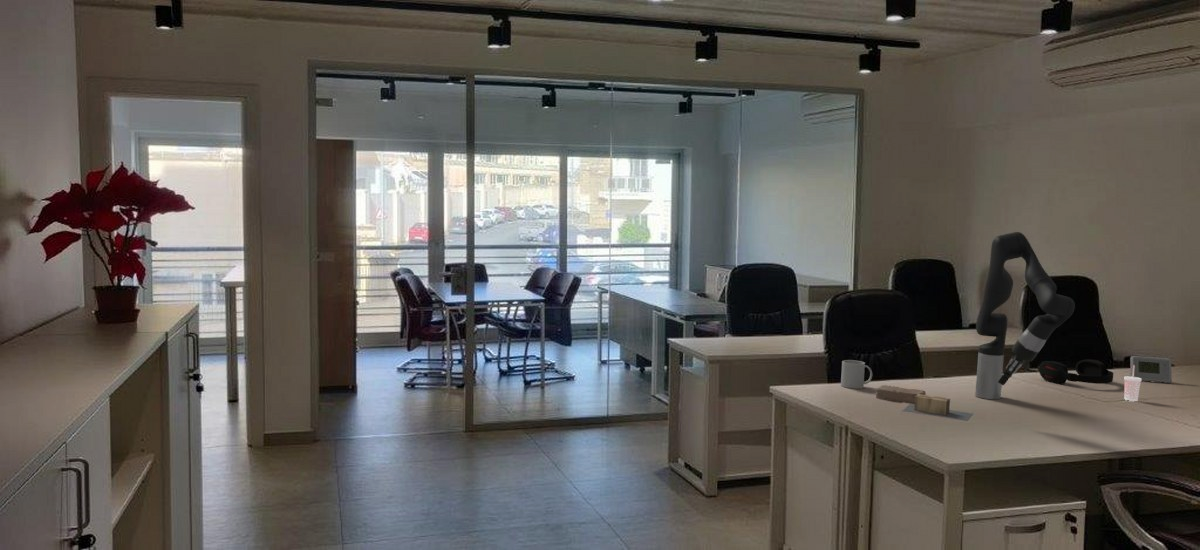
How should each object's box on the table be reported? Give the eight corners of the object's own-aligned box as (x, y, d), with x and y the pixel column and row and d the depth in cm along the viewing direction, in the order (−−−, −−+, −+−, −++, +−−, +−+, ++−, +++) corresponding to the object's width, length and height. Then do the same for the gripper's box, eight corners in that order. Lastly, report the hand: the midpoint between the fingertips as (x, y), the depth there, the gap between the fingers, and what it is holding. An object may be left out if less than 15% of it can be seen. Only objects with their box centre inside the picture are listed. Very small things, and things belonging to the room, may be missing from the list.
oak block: (949, 412, 317) (917, 407, 323) (950, 398, 317) (918, 394, 322) (946, 415, 313) (914, 410, 318) (947, 401, 312) (915, 396, 318)
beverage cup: (1128, 401, 347) (1131, 366, 346) (1118, 398, 353) (1121, 363, 352) (1143, 402, 347) (1146, 367, 346) (1133, 398, 353) (1136, 364, 352)
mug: (837, 386, 358) (838, 361, 357) (847, 382, 365) (848, 358, 364) (862, 390, 351) (863, 365, 350) (872, 387, 358) (874, 362, 357)
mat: (909, 405, 328) (909, 404, 328) (973, 414, 317) (973, 413, 317) (901, 411, 317) (901, 410, 317) (967, 421, 306) (967, 420, 306)
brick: (875, 398, 338) (875, 386, 338) (882, 395, 345) (883, 383, 345) (918, 406, 329) (919, 393, 328) (925, 402, 335) (926, 390, 335)
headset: (1054, 373, 404) (1055, 353, 403) (1121, 383, 385) (1123, 362, 384) (1031, 381, 383) (1033, 360, 382) (1102, 392, 364) (1103, 370, 363)
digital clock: (1129, 380, 391) (1131, 357, 390) (1127, 377, 399) (1129, 354, 398) (1172, 385, 384) (1174, 361, 383) (1170, 381, 392) (1172, 358, 391)
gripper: (1023, 333, 306) (995, 371, 314) (1014, 342, 295) (986, 382, 303) (1043, 345, 303) (1015, 384, 310) (1035, 355, 292) (1006, 395, 300)
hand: (1001, 383), depth 307 cm, fingers closed
